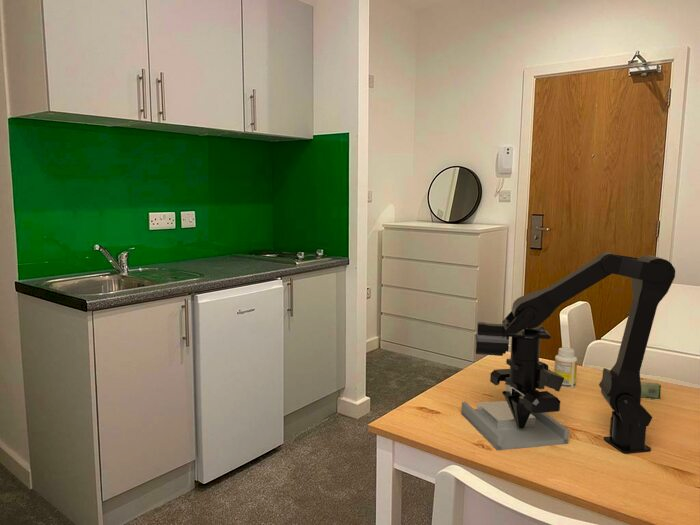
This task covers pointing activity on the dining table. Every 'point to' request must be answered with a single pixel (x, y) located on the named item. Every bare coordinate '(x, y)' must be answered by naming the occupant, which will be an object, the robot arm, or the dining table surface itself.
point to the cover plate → (501, 415)
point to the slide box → (518, 431)
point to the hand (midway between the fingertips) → (520, 427)
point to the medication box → (650, 390)
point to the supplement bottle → (566, 366)
